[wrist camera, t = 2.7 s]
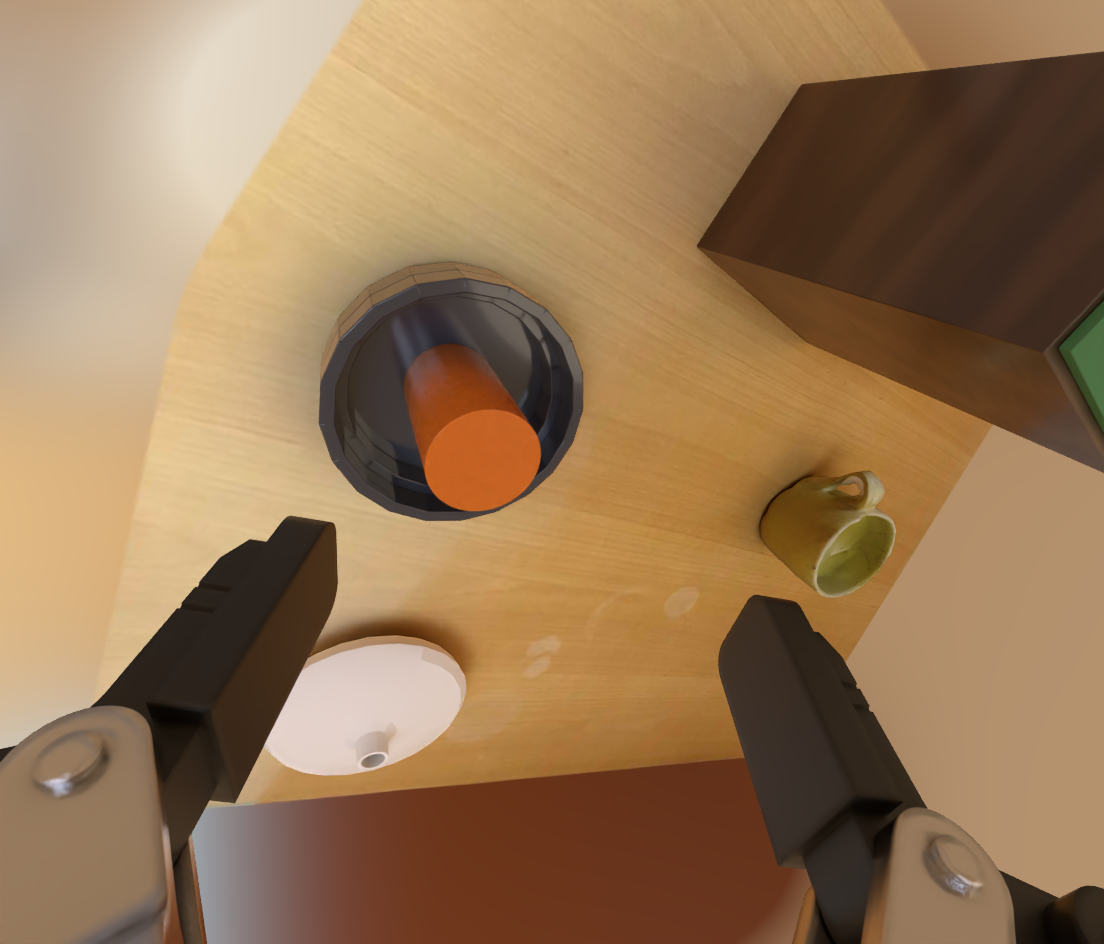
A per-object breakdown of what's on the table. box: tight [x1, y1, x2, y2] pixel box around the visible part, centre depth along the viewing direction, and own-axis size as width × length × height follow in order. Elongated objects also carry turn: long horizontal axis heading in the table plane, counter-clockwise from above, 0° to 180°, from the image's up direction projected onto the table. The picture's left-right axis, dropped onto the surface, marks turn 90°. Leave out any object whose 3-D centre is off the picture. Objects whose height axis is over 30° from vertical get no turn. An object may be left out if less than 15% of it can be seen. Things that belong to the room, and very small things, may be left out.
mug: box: [760, 471, 896, 598], centre depth 47 cm, size 12×10×10 cm
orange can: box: [403, 344, 541, 511], centre depth 27 cm, size 6×6×9 cm
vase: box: [264, 635, 466, 776], centre depth 40 cm, size 16×16×7 cm
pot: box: [319, 262, 583, 521], centre depth 29 cm, size 14×14×4 cm
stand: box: [697, 52, 1104, 473], centre depth 26 cm, size 14×10×20 cm
